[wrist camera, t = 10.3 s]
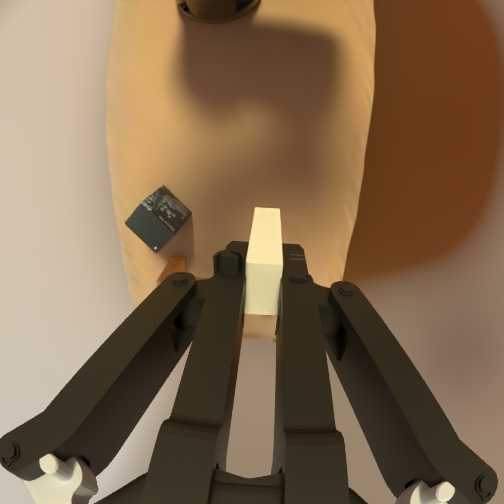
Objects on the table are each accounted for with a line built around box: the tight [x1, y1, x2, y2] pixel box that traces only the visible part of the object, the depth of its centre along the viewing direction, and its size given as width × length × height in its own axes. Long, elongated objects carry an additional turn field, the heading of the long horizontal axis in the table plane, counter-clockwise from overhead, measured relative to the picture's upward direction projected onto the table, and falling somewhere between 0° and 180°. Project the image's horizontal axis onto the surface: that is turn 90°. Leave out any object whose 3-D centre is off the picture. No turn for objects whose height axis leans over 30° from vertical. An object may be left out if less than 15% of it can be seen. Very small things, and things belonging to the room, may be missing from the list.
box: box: [125, 186, 191, 254], centre depth 47 cm, size 8×6×11 cm
